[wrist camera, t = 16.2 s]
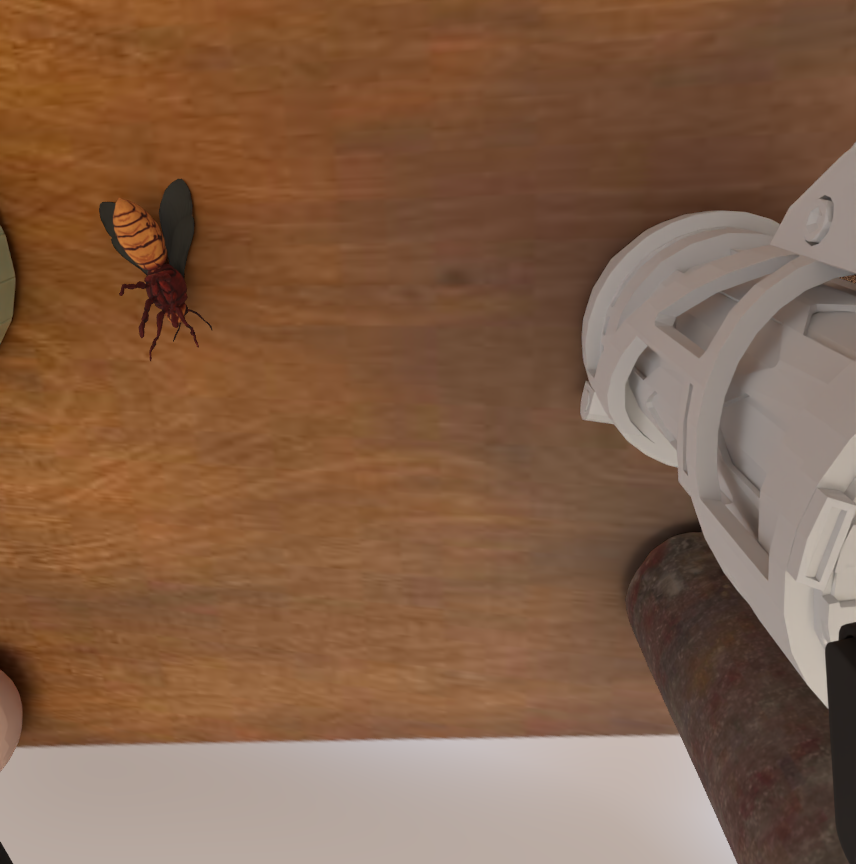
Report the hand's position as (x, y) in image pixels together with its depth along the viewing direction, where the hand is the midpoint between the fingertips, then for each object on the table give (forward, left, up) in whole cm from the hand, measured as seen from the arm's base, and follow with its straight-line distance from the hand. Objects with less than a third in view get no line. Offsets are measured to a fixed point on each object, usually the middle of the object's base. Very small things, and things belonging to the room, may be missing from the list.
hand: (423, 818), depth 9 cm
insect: (+4, -9, -23) cm, 25 cm away
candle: (+5, +20, -28) cm, 35 cm away
